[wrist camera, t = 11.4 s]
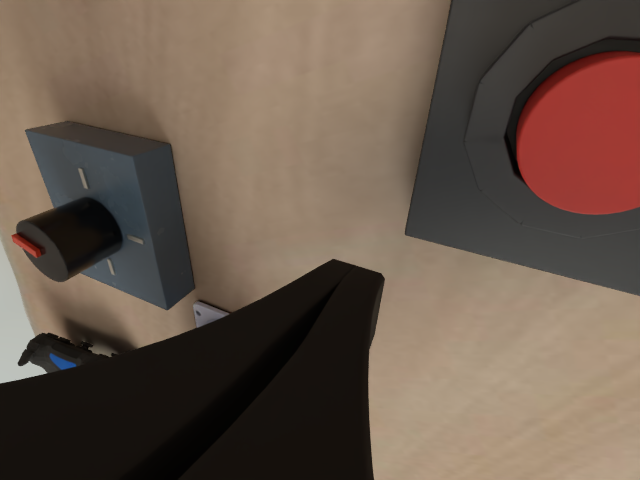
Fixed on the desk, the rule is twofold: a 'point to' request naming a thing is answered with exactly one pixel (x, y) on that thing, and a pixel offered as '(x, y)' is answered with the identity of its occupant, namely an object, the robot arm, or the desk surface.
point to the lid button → (584, 135)
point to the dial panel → (122, 204)
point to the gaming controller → (57, 353)
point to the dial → (69, 238)
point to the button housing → (500, 139)
